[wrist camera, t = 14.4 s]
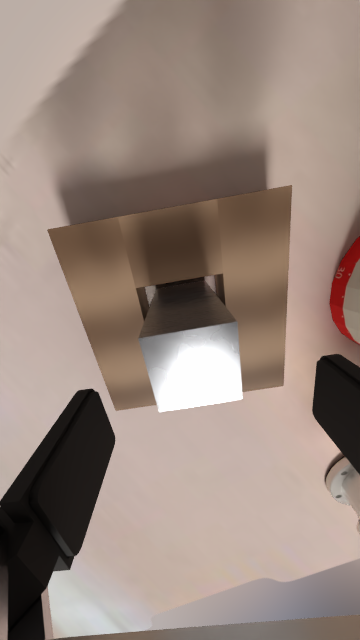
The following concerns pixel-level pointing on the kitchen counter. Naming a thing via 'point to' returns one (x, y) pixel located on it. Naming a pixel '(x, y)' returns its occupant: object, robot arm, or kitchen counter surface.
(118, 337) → the socket block
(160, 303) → the square peg
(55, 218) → the kitchen counter surface
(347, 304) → the kitchen timer
